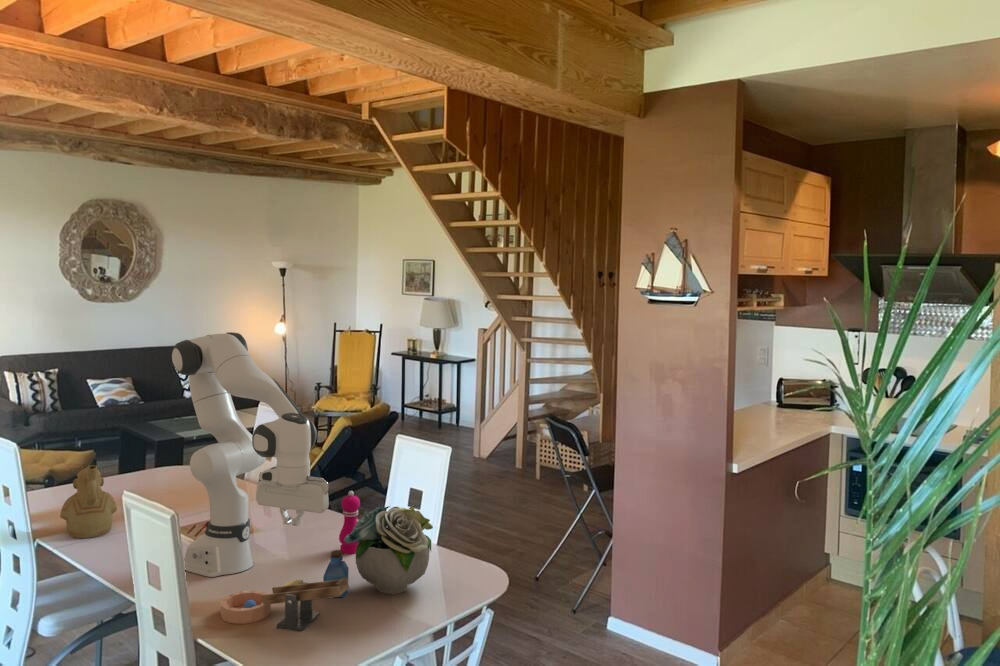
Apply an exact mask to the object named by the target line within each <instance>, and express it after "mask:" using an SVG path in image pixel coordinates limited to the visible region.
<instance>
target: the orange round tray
mask: <svg viewBox="0 0 1000 666" xmlns="http://www.w3.org/2000/svg"><path fill="white" fill-rule="evenodd" d="M266 594H268V593H267V592H265V591H260V590H244V591H243V590H242V591H238V592H235V593H231V594H229V595H227V596H226V597H224V598H222V599H221V602H220V618H221V620H223V621H224V622H226V623H228V624H233V625H243V624H244V625H245V624H251V623H255V622H259V621H262V620H264V619H265V618H267V617H268V616H269V615H270V614H271V608H272V604H266V605H263V600H262V595H266ZM248 600H253V601H255V602H256V606H254V607H251V608H244V603H245V602H246V601H248Z"/></svg>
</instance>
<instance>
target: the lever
mask: <svg viewBox="0 0 1000 666" xmlns="http://www.w3.org/2000/svg"><path fill="white" fill-rule="evenodd" d="M302 582H304V579H297V580H290V581H288V582H287V583H286V584H284V585H283V586H281V585H280V586H274V587H272V589H271V590H272V593H267V594H266V595H262V600H263V605H266V604H271V605H274V604H282V603H283V604H285V595H286V594H287V593H288V594H295V595H298V602H300V601H302V600H311V599H312V600H319V599H320V600H321V599H330V598H329V597H339V596H340V595H342V594H343V593H344V592H345V591H346V590H347V589H348V590H349V589H350V586H349V578H348V579H346V577H344V578H342V579H341V580H332V581H324V582H323V581H317V582H305V583H306V584H301V583H302Z"/></svg>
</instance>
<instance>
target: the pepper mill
mask: <svg viewBox="0 0 1000 666" xmlns="http://www.w3.org/2000/svg"><path fill="white" fill-rule="evenodd" d="M347 494H348V495H346V496H345V497H343V498H342V500H341V504H340V505H341V508H342V509H343V510H342V515H343V518H344V519H343V525H342V528H341V530H340V533H339V535H338V539H339V540H338V541H339V542H340V544H341V545H340V549H339V550H340V551H342V554H345V553H346V554H347V555H352V554H353V553H354V554H356V546H357V545H358V543H359V542H358V541H356V542H353V543H346V542H345V541H344V539H345V537H346V536H347V535H348V534H351V532H352V531H353V528H354V527H355V525H356V523H357V522H358V515H359V510H358V509H359V508H360V506H361V500H360V498H359V497H358V496H357V495H354V494H355V493H354V491H353V490H349V491H348V493H347ZM354 554H353V555H354Z"/></svg>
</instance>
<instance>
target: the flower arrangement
mask: <svg viewBox="0 0 1000 666" xmlns="http://www.w3.org/2000/svg"><path fill="white" fill-rule="evenodd" d="M390 507H391V506H381V507H378V506H377V507H376V508H375V509H373V510H371V511H370V512H368V511H367V510H365V511H364V512H363V514H362V515H363V516H362V517H361V518H359V520H357V523H356V525H355V527H354V528H353V531H352V532H351V534H348V535H347V536H346V537H345V539H344V541H345V542H346V543H353V542H356V541H358V542H359V543H358V545H357V546H356V553H355V565H356V568H357V570H358V573H359V575H360V576H361V579H364V580H365V581H366V582H367V583H369V584H371V585H373V586H375V587H376V589H377V590H378V592H380V593H383V594H388V595H390V594H391V595H395V593H396V594H400V593H403V592H405V591H406V590H407V589H408V586H410V585H411V584H414V583H415V582H416V581H418V580H419V579H421V577H423V576H424V575H425V574H426V571H427V569H428V565H429V562H430V552H432V539H431V538H430V537H429V536H428V535H426V534H424V530H432V529H433V528H434V527H433V526H434V525H433V524H432V523H431V522H430V521H431V520H430V519H429V518H427V517H426V516H424V515H423V514H422V512H421V511H420V510H415V507H414V506H410V507H409V506H408V508H406V507H400V506H393V507H391V508H390ZM388 508H390V509H388ZM387 509H388V511H387Z"/></svg>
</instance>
